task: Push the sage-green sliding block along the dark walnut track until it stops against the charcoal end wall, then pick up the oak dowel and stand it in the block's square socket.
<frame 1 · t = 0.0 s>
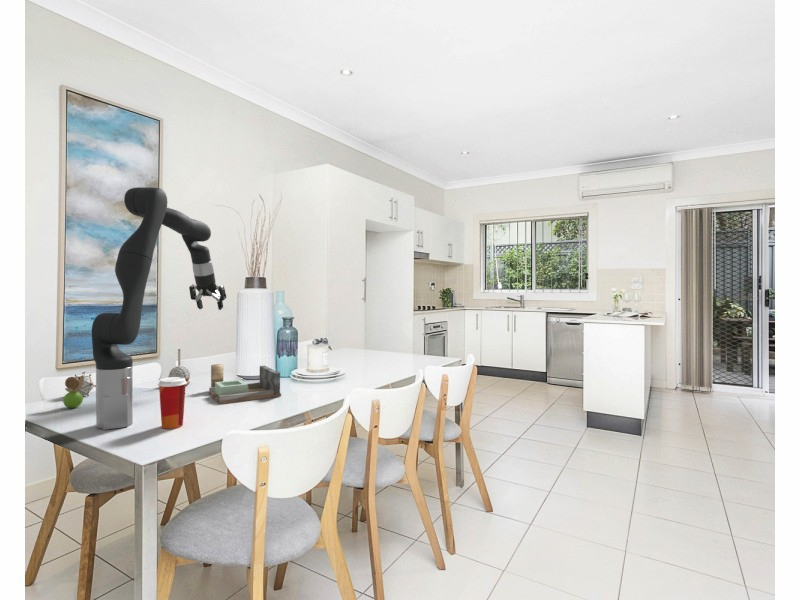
hand: (210, 308, 192), 31 cm above the table, tool tilted 20°, fingers open, 8 cm apart
paper cup: (172, 426, 137), on the table
decorative ornament: (179, 385, 190), on the table
snail figurine: (74, 408, 154), on the table
track: (244, 395, 176), on the table
dowel: (217, 390, 182), on the table
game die: (81, 396, 170), on the table
block: (231, 388, 173), point 3 cm above the table, slide at 0.0 cm
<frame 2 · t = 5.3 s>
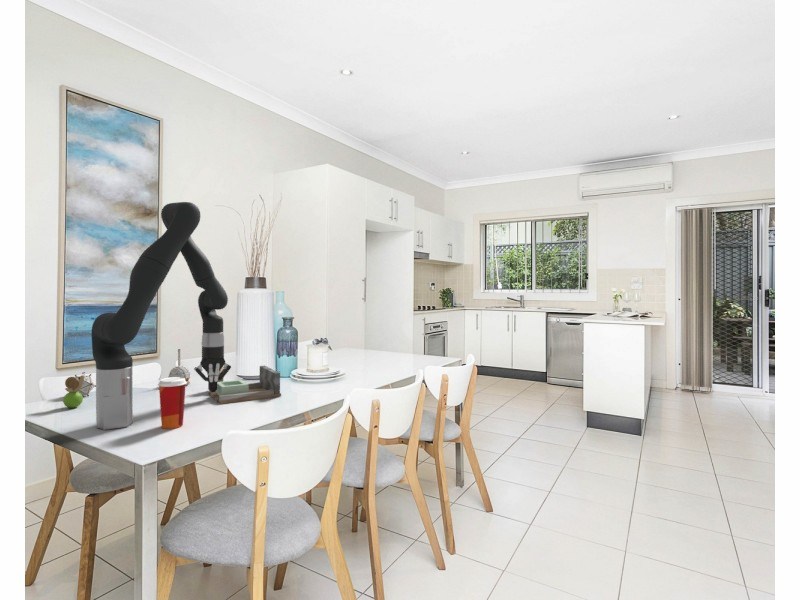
hand: (212, 391, 169), 3 cm above the table, tool pointing down, fingers closed
block: (232, 388, 173), point 3 cm above the table, slide at 0.3 cm, touching gripper
everything else where it was.
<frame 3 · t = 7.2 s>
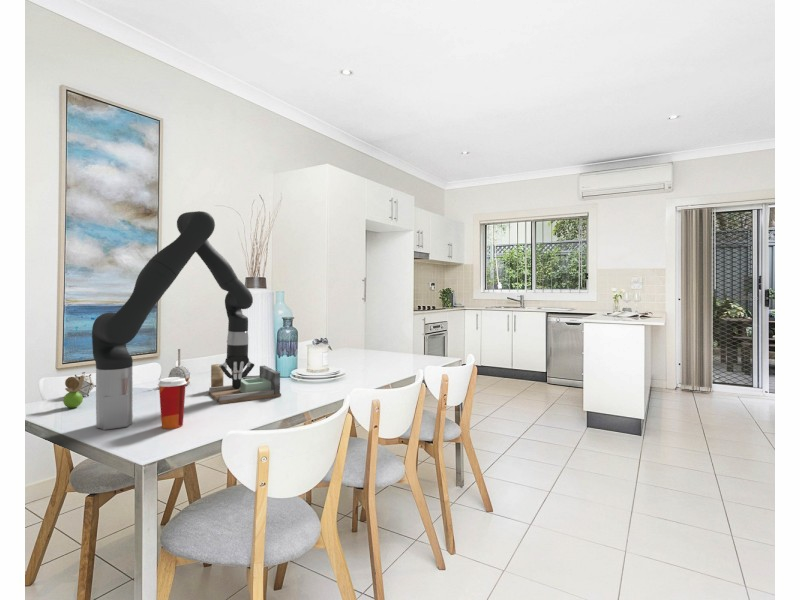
hand: (236, 388, 174), 3 cm above the table, tool pointing down, fingers closed
block: (254, 386, 178), point 3 cm above the table, slide at 8.8 cm, touching gripper, track
everything else where it was.
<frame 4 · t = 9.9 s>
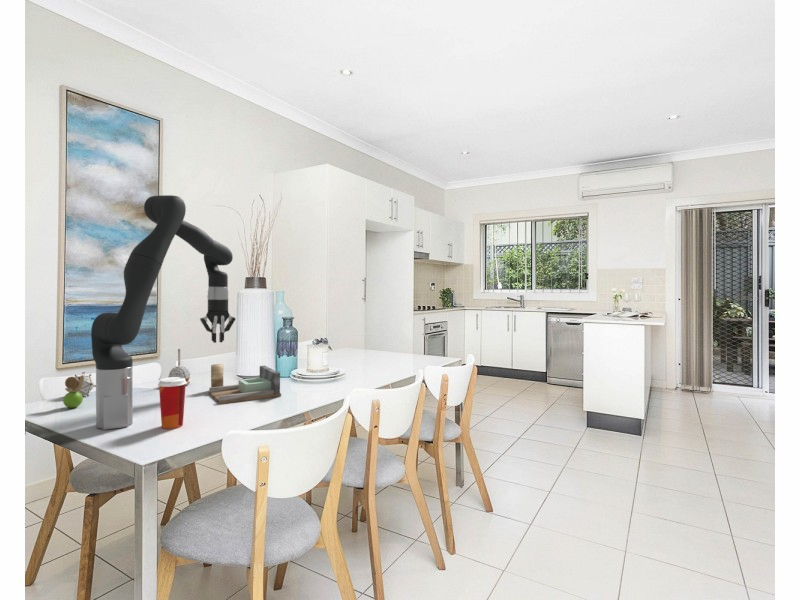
hand: (217, 342, 182), 19 cm above the table, tool pointing down, fingers closed
block: (254, 386, 178), point 3 cm above the table, slide at 8.7 cm
everything else where it was.
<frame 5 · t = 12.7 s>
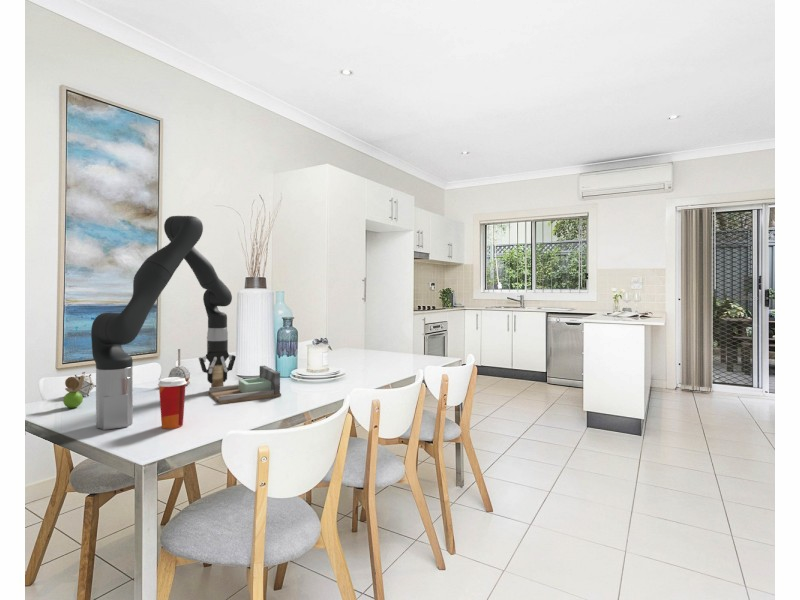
hand: (217, 381, 182), 3 cm above the table, tool pointing down, fingers closed on dowel, 4 cm apart
dowel: (217, 390, 182), on the table, touching gripper
everything else where it was.
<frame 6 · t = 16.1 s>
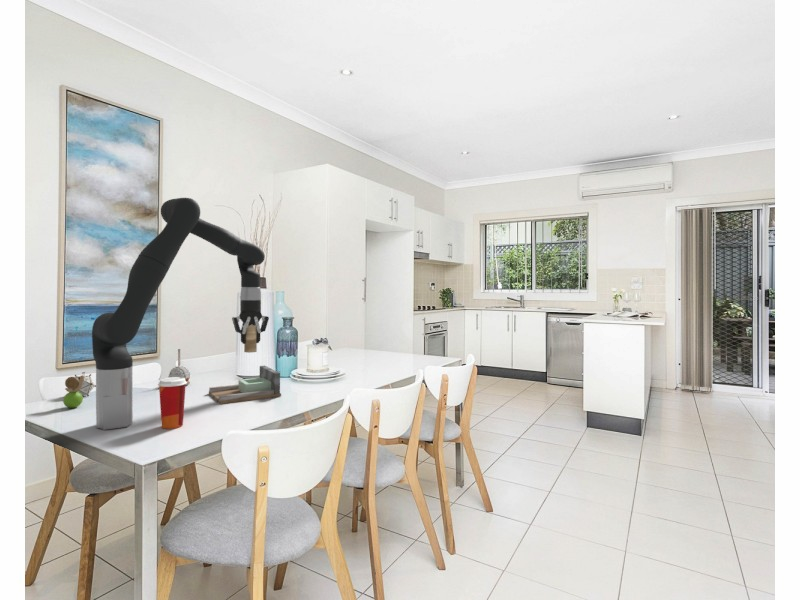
hand: (250, 343, 178), 20 cm above the table, tool pointing down, fingers closed on dowel, 4 cm apart
dowel: (250, 351, 178), point 16 cm above the table, touching gripper
everything else where it was.
when the fingers open (6 cm above the table, at t = 19.6 s): dowel drops 1 cm, resting on block.
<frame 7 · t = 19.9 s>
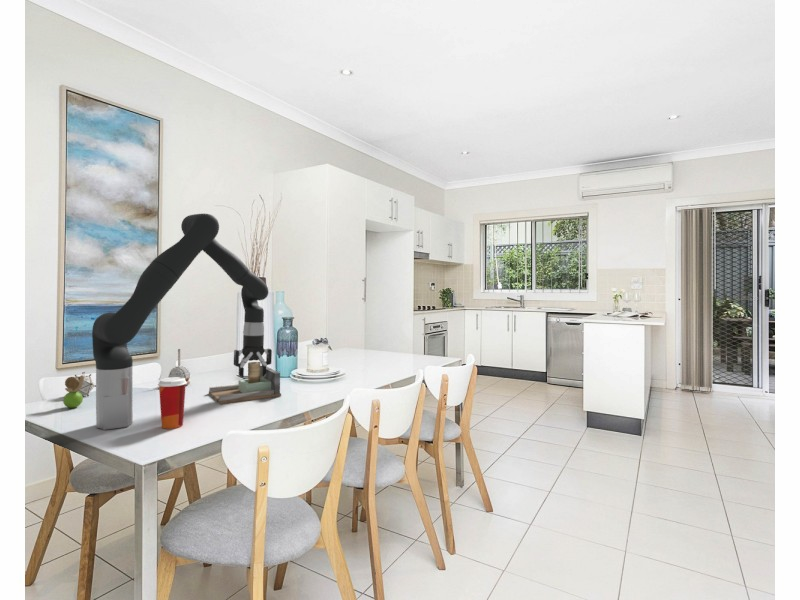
hand: (252, 376, 177), 7 cm above the table, tool pointing down, fingers open, 7 cm apart
dowel: (254, 388, 178), point 2 cm above the table, touching block
block: (254, 386, 178), point 3 cm above the table, slide at 8.7 cm, touching dowel
everything else where it was.
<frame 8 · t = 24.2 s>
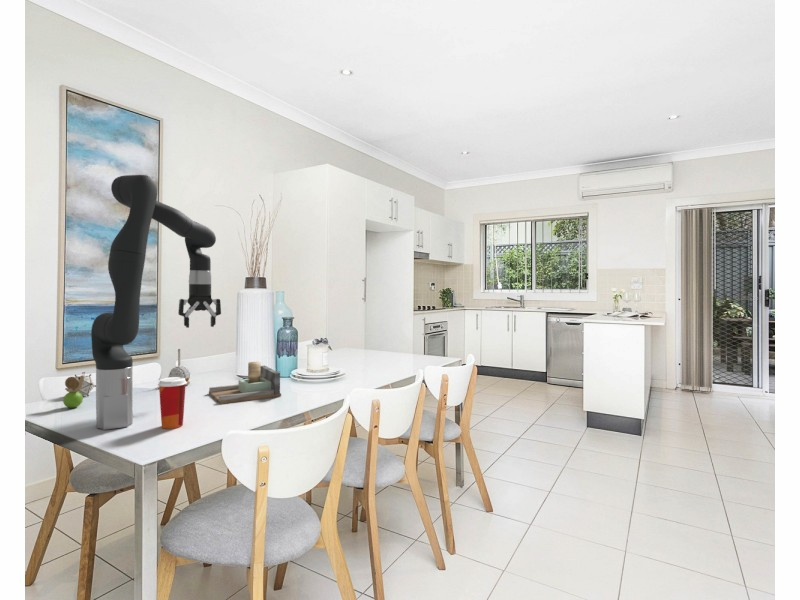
hand: (200, 327, 170), 26 cm above the table, tool pointing down, fingers open, 8 cm apart
nothing on the table moved.
at the end: block slide at 8.7 cm; dowel 0.2 cm off-centre on the block, point 1.0 cm above the block's base; dowel tilted 0° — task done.
